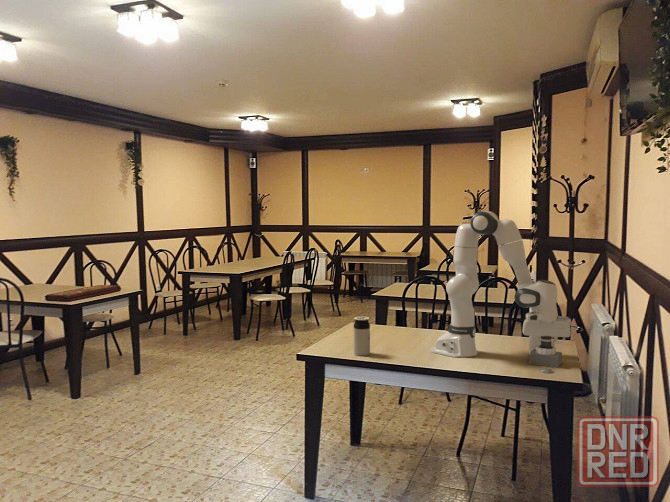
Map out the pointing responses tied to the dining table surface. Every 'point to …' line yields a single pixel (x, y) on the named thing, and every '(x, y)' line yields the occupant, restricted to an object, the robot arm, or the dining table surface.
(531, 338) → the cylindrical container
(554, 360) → the grey box with knob
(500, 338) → the dining table surface
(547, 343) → the lens
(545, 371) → the lens cap
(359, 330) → the travel mug
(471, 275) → the robot arm
